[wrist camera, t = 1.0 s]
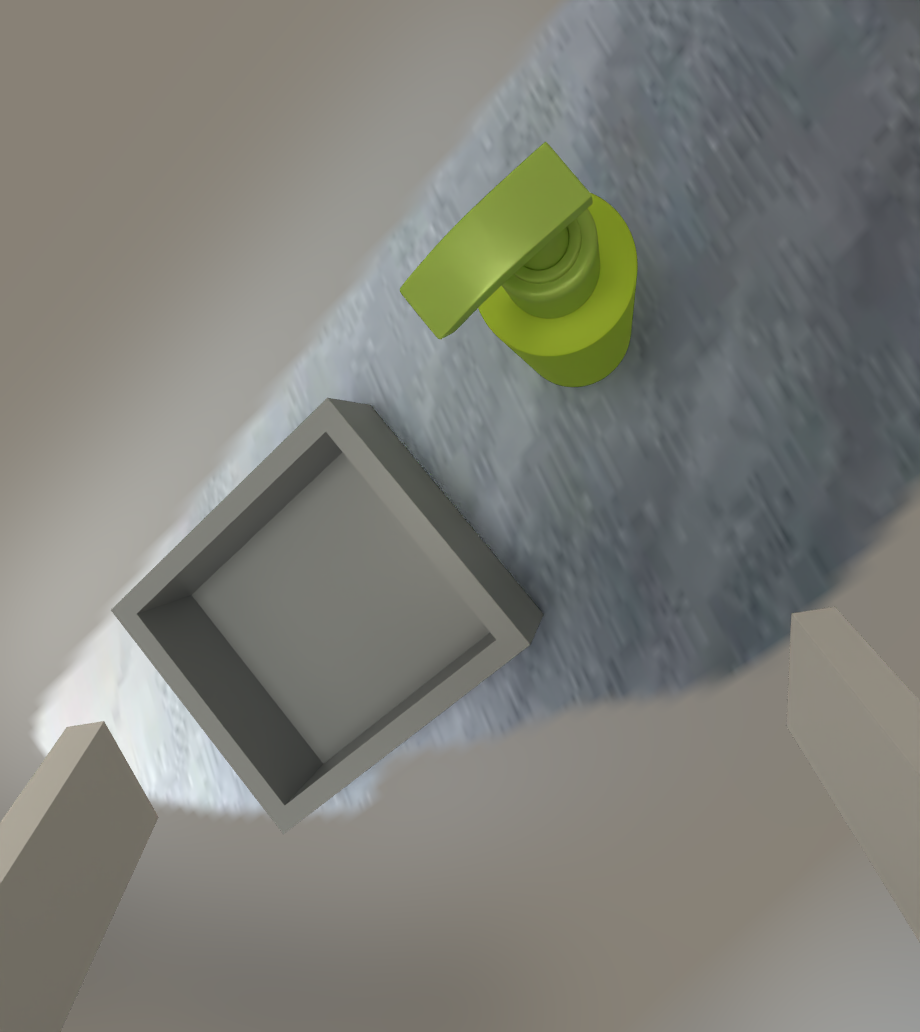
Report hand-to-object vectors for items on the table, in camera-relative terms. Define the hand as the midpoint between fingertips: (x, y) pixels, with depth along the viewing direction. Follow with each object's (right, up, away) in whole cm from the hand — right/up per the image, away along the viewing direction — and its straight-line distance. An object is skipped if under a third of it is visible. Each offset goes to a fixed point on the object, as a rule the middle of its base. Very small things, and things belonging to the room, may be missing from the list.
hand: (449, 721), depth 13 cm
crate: (-7, -1, +28) cm, 29 cm away
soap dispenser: (+6, +14, +24) cm, 28 cm away
